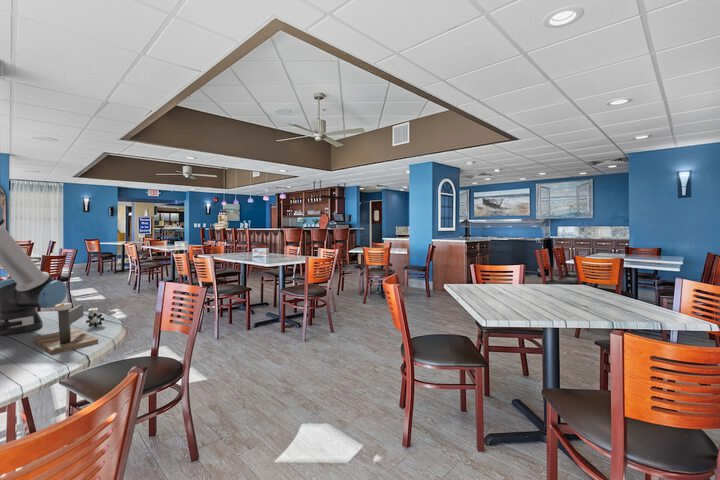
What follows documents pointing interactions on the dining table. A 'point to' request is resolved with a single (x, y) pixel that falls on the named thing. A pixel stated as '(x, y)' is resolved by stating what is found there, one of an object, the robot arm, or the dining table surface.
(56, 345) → the board
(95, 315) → the valve
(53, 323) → the dining table surface
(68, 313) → the dark piece
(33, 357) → the dining table surface
